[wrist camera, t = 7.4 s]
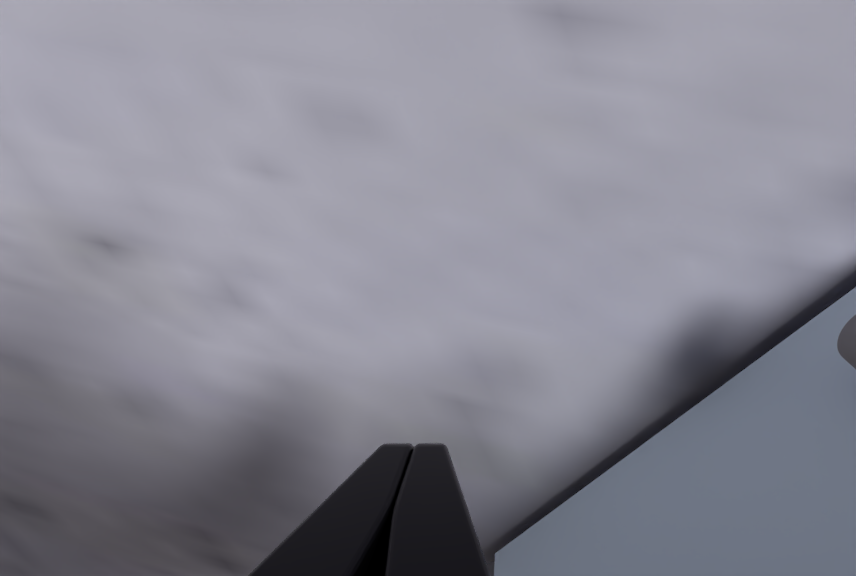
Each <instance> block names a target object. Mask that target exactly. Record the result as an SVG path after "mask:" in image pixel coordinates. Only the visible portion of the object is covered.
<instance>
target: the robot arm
mask: <svg viewBox="0 0 856 576" xmlns="http://www.w3.org/2000/svg"><path fill="white" fill-rule="evenodd" d="M249 576H490V573H489V570H488V567H487V564H486V561H485V559H484V556H483V553H482V550H481V547H480V544H479V541H478V538H477V535H476V532H475V529H474V526H473V523H472V520H471V517H470V514H469V511H468V508H467V505H466V502H465V499H464V496H463V493H462V490H461V487H460V484H459V482H458V479H457V476H456V473H455V470H454V467H453V464H452V461H451V458H450V455H449V452H448V449H447V447H446V446H445V445H444V444H441V443H440V444H417V445H416V446H415V447H413V446H412V445H411V444H383V445H382V446H380V447H379V448H378V449H377V450H376V451H375V452H374V453H373V454H372V455H371V456H370V457H369V458H368V459H367V460H366V461H365V462H364V463H363V464H362V465H361V466H360V467H359V468H357V469H356V470H355V471H354V472H353V473H352V474H351V475H350V476H349V477H348V478H347V479H346V480H345V481H344V482H343V483H342V484H341V485H340V486H339V487H338V488H337V489H336V490H335V491H334V492H333V493H332V494H331V495H330V496H329V497H328V498H327V499H326V500H325V501H324V502H323V503H322V504H321V505H320V506H319V507H318V508H317V509H316V510H315V511H314V512H313V513H312V514H311V515H310V516H309V517H308V518H307V519H306V520H305V521H304V522H303V523H301V524H300V525H299V526H298V527H297V528H296V529H295V530H294V531H293V532H292V533H291V534H290V535H289V536H288V537H287V538H286V539H285V540H284V541H283V542H282V543H281V544H280V545H279V546H278V547H277V548H276V549H275V550H274V551H273V552H272V553H271V554H270V555H269V556H268V557H267V558H266V559H265V560H264V561H263V562H262V563H261V564H260V565H259V566H258V567H257V568H256V569H255V570H254V571H253V572H252V573H251V574H250V575H249Z"/></svg>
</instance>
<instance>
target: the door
mask: <svg viewBox="0 0 856 576" xmlns="http://www.w3.org/2000/svg"><path fill="white" fill-rule="evenodd" d="M487 567H488V570H489V573H490V576H856V287H855V288H854V289H852V290H851V291H850V292H848V293H847V294H845V295H844V296H843V297H841V298H840V299H839V300H837V301H836V302H835V303H833V304H832V305H831V306H829V307H828V308H827V309H825V310H824V311H822V312H821V313H820V314H818V315H817V316H816V317H814V318H813V319H812V320H810V321H809V322H808V323H806V324H805V325H804V326H802V327H801V328H799V329H798V330H797V331H795V332H794V333H793V334H791V335H790V336H789V337H787V338H786V339H785V340H783V341H782V342H781V343H779V344H778V345H776V346H775V347H774V348H772V349H771V350H770V351H768V352H767V353H766V354H764V355H763V356H762V357H760V358H759V359H757V360H756V361H755V362H753V363H752V364H751V365H749V366H748V367H747V368H745V369H744V370H743V371H741V372H740V373H739V374H737V375H736V376H734V377H733V378H732V379H730V380H729V381H728V382H726V383H725V384H724V385H722V386H721V387H720V388H718V389H717V390H716V391H714V392H713V393H711V394H710V395H709V396H707V397H706V398H705V399H703V400H702V401H701V402H699V403H698V404H697V405H695V406H694V407H693V408H691V409H690V410H688V411H687V412H686V413H684V414H683V415H682V416H680V417H679V418H678V419H676V420H675V421H674V422H672V423H671V424H669V425H668V426H667V427H665V428H664V429H663V430H661V431H660V432H659V433H657V434H656V435H655V436H653V437H652V438H651V439H649V440H648V441H646V442H645V443H644V444H642V445H641V446H640V447H638V448H637V449H636V450H634V451H633V452H632V453H630V454H629V455H628V456H626V457H625V458H623V459H622V460H621V461H619V462H618V463H617V464H615V465H614V466H613V467H611V468H610V469H609V470H607V471H606V472H605V473H603V474H602V475H600V476H599V477H598V478H596V479H595V480H594V481H592V482H591V483H590V484H588V485H587V486H586V487H584V488H583V489H581V490H580V491H579V492H577V493H576V494H575V495H573V496H572V497H571V498H569V499H568V500H567V501H565V502H564V503H563V504H561V505H560V506H558V507H557V508H556V509H554V510H553V511H552V512H550V513H549V514H548V515H546V516H545V517H544V518H542V519H541V520H540V521H538V522H537V523H535V524H534V525H533V526H531V527H530V528H529V529H527V530H526V531H525V532H523V533H522V534H521V535H519V536H518V537H517V538H515V539H514V540H512V541H511V542H510V543H508V544H507V545H506V546H504V547H503V548H502V549H500V550H499V551H498V552H496V553H495V562H491V563H488V564H487Z"/></svg>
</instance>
